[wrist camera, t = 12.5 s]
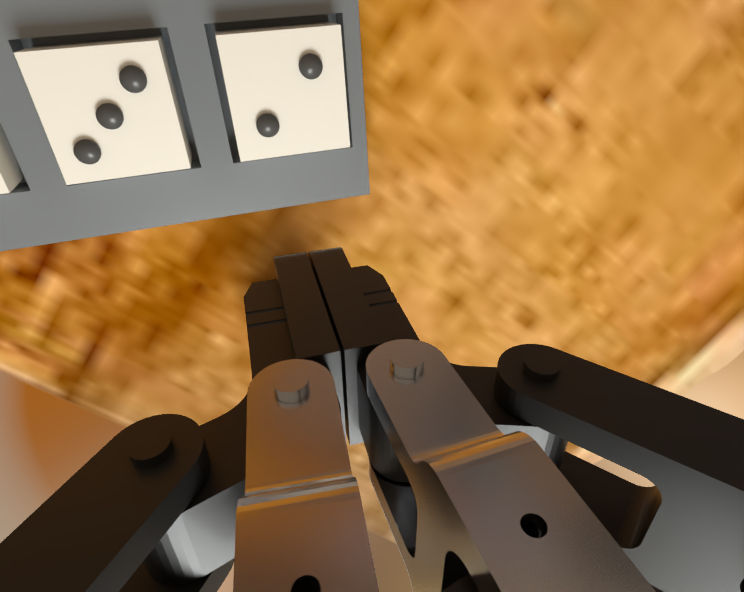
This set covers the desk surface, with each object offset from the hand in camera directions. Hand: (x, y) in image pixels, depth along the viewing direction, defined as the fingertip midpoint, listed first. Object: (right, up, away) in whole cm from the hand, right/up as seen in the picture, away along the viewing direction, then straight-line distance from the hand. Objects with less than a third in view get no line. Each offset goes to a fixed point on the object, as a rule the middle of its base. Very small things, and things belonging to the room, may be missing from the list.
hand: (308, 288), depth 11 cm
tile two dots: (-3, +11, +15) cm, 18 cm away
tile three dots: (-11, +9, +13) cm, 19 cm away
